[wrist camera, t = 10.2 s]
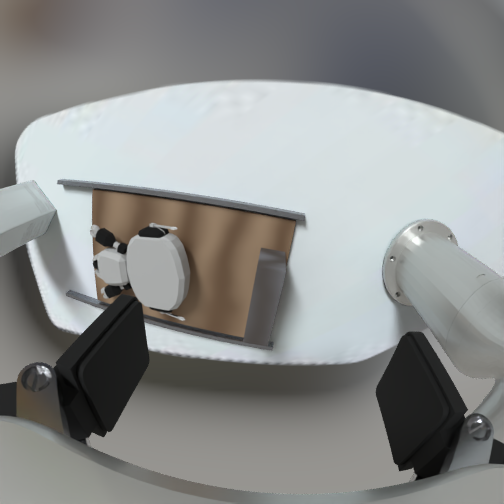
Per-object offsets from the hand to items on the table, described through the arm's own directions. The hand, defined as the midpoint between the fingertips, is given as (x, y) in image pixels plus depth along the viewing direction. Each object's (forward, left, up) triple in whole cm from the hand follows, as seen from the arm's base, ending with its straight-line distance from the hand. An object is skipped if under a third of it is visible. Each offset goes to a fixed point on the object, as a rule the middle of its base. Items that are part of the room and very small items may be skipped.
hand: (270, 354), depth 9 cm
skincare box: (+39, +5, -26) cm, 47 cm away
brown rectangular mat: (+12, +10, -25) cm, 29 cm away
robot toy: (+17, +10, -25) cm, 31 cm away
